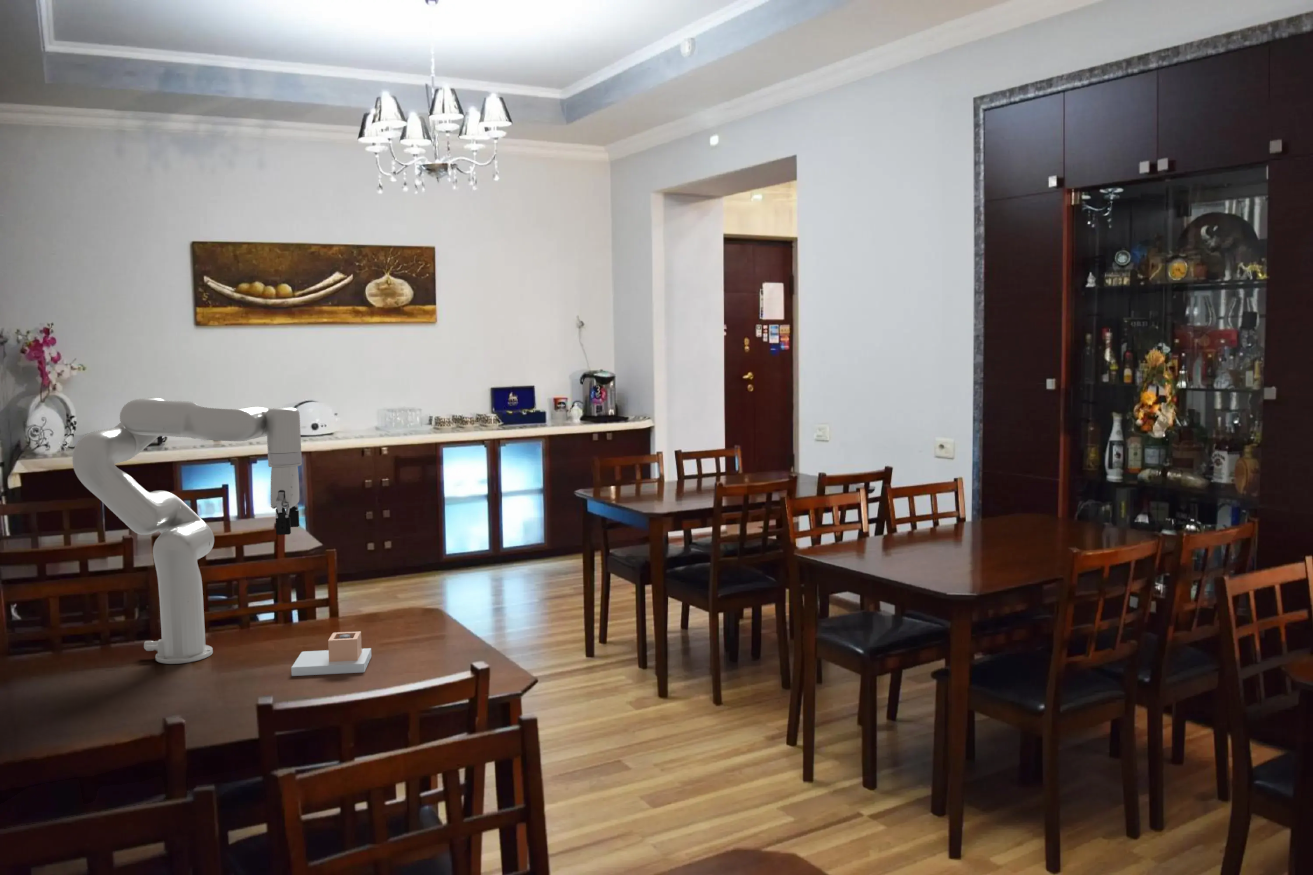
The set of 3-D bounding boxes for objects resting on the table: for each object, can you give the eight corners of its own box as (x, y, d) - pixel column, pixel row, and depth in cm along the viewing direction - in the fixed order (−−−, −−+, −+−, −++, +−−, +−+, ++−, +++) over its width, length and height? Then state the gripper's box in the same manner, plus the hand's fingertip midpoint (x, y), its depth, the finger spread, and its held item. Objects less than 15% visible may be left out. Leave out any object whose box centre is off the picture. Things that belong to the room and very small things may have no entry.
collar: (329, 661, 238) (328, 640, 238) (333, 653, 244) (333, 632, 244) (357, 660, 239) (356, 639, 238) (361, 651, 245) (360, 631, 245)
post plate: (291, 675, 234) (290, 645, 234) (302, 659, 246) (301, 630, 246) (364, 672, 237) (363, 642, 236) (371, 656, 248) (370, 627, 248)
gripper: (276, 455, 254) (279, 524, 256) (259, 464, 237) (263, 538, 239) (308, 455, 255) (311, 523, 257) (293, 463, 238) (296, 536, 240)
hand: (288, 530), depth 248 cm, fingers open, 9 cm apart
